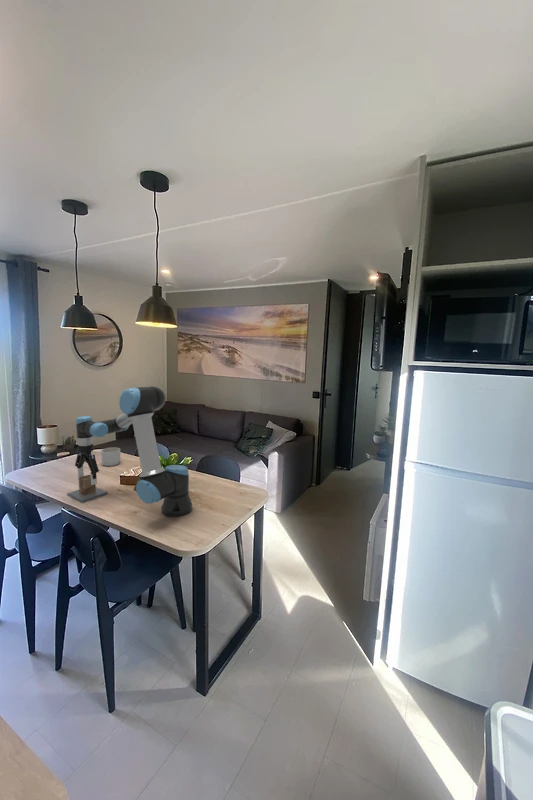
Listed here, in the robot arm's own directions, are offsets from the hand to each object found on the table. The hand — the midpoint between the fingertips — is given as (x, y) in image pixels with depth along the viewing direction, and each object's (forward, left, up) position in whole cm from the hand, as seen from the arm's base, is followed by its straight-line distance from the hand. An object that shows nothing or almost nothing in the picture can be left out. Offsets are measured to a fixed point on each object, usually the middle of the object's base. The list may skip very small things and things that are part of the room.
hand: (87, 481), depth 179 cm
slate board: (0, 0, -8) cm, 8 cm away
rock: (-14, -24, -8) cm, 29 cm away
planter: (+38, -37, -8) cm, 54 cm away
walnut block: (0, 0, -6) cm, 7 cm away
